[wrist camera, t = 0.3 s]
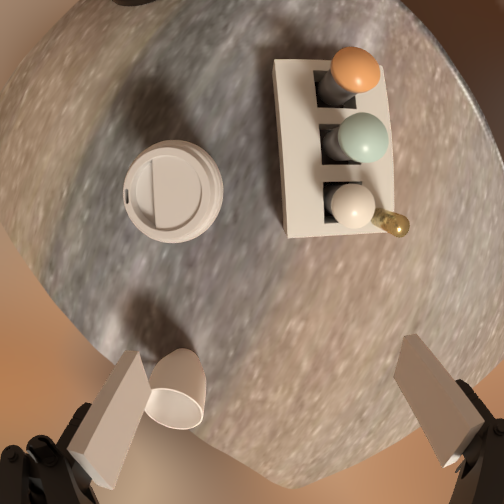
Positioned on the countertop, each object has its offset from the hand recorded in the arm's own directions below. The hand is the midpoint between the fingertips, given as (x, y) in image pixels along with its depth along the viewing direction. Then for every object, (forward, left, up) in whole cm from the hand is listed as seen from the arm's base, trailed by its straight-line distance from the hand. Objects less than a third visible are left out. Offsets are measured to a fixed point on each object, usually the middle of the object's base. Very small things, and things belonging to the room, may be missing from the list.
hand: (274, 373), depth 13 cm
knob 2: (-12, +10, -24) cm, 28 cm away
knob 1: (-19, +10, -24) cm, 32 cm away
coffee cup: (-8, -8, -28) cm, 30 cm away
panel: (-12, +10, -28) cm, 32 cm away
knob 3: (-5, +10, -28) cm, 30 cm away
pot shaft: (-3, +15, -23) cm, 27 cm away
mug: (+21, -15, -28) cm, 38 cm away
